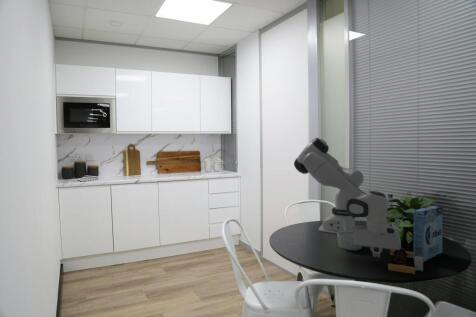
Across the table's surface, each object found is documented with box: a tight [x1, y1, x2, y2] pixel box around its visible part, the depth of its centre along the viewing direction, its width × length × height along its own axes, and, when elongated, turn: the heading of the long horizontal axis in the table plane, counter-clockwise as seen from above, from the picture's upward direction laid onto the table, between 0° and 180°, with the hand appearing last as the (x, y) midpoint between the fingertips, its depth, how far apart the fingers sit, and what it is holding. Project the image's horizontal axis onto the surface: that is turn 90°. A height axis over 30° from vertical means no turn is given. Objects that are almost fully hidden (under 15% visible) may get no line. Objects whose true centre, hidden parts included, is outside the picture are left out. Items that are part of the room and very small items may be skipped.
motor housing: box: [387, 246, 424, 275], centre depth 144 cm, size 13×22×7 cm, turn 153°
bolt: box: [393, 247, 408, 266], centre depth 146 cm, size 6×5×15 cm
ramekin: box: [336, 231, 363, 251], centre depth 169 cm, size 13×13×7 cm
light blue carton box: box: [412, 205, 444, 263], centre depth 154 cm, size 20×5×23 cm, turn 126°
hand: (376, 256), depth 150 cm, fingers closed
